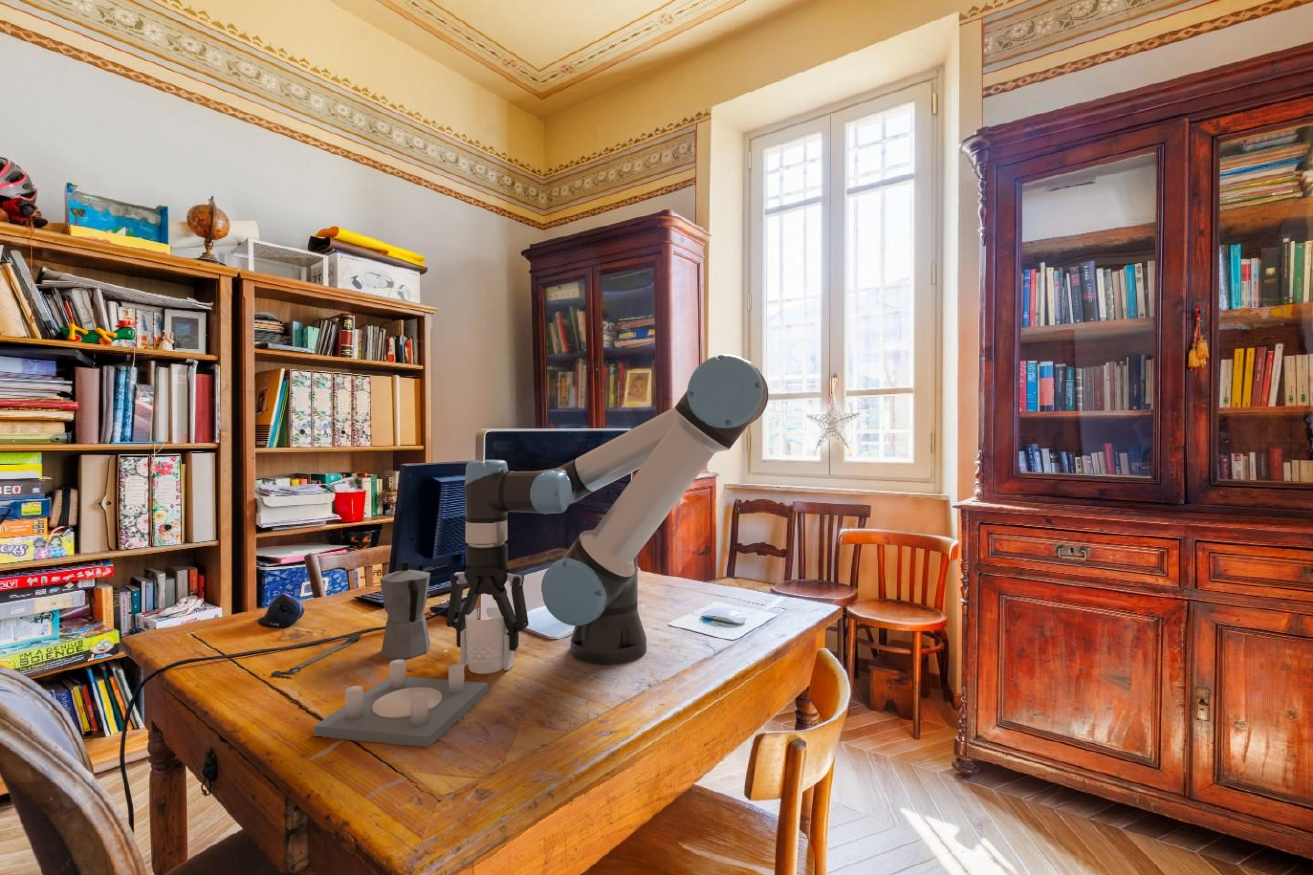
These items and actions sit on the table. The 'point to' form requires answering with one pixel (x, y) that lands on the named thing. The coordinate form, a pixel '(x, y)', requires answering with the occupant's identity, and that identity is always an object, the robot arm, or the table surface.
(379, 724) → the peg stand
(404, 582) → the coffeepot
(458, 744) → the table surface
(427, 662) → the table surface
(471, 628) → the white cup
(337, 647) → the tactical tomahawk
